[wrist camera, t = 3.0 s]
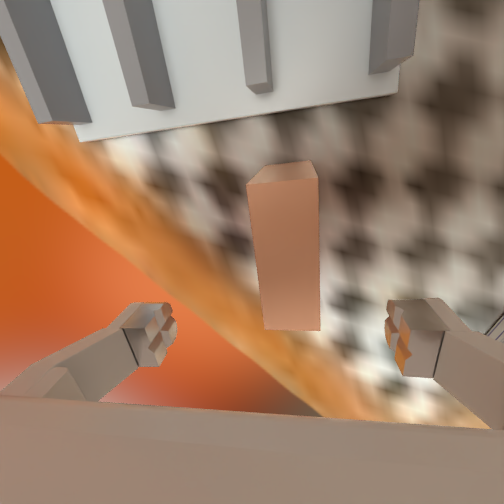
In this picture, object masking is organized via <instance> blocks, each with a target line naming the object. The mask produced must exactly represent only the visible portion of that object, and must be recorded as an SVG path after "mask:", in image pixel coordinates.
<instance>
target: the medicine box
mask: <svg viewBox="0 0 504 504" xmlns="http://www.w3.org/2000/svg"><path fill="white" fill-rule="evenodd" d="M486 336H488V337H490V338H492V339H495V340H497V341H499V342H501V343H503V344H504V315H503V316H502V317H501V319H500V320H499V321H498V322H497V323H496V324H495V325H494V327H493V328H492V329H491V330H490V331H489V332H488V333H487V334H486Z"/></svg>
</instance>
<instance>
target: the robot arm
mask: <svg viewBox="0 0 504 504" xmlns="http://www.w3.org/2000/svg"><path fill="white" fill-rule="evenodd" d="M386 310H387V312H388V314H389V317H388V318H387V319H386V320H385V337H386V340H387V343H388V345H389V348H390V349H392V350H393V351H394V352H396V353H395V361H396V363H397V365H398V367H399V369H400V371H401V373H402V375H403V376H408V377H424V378H434V379H433V380H435V381H436V382H437V383H438V384H439V385H441V386H442V387H443V388H444V389H445V390H447V391H448V392H449V393H450V394H451V395H452V396H454V397H455V398H456V399H457V400H458V401H460V402H461V403H462V404H463V405H464V406H466V407H467V408H468V409H469V410H470V411H471V412H473V413H474V414H475V415H476V416H477V417H479V418H480V419H481V420H482V421H483V422H485V423H486V424H487V425H488V426H489V427H490V428H492V429H479V428H464V427H450V426H436V425H422V424H408V423H393V422H379V421H365V420H351V419H337V418H323V417H308V416H294V415H281V414H265V413H252V412H238V411H224V410H209V409H195V408H180V407H167V406H151V405H139V404H138V405H137V404H124V403H110V402H98V401H99V400H100V399H101V398H102V397H104V396H105V395H106V394H107V393H108V392H110V391H111V390H112V389H113V388H114V387H116V386H117V385H118V384H119V383H120V382H122V381H123V380H124V379H125V378H126V377H128V376H129V375H130V374H131V373H133V372H134V371H135V370H136V369H137V368H138V367H159V366H160V364H161V363H162V361H163V359H164V357H165V356H166V354H167V349H166V348H167V347H169V346H170V345H171V344H173V342H174V340H175V338H176V334H177V324H176V321H175V319H174V318H173V317H172V316H171V313H172V308H171V305H170V304H169V303H166V302H145V303H144V302H134V303H131V304H130V305H129V306H128V307H127V308H126V309H125V310H124V311H123V312H122V313H121V314H120V315H119V316H118V317H117V318H116V319H115V320H114V321H113V322H112V323H111V324H110V325H109V326H108V327H107V328H106V329H101V330H99V331H97V332H95V333H93V334H91V335H89V336H87V337H85V338H83V339H81V340H79V341H77V342H75V343H73V344H71V345H69V346H67V347H65V348H63V349H61V350H59V351H57V352H56V353H53V354H51V355H49V356H48V357H45V358H43V359H42V360H40V361H38V362H36V363H34V364H32V365H30V366H29V367H28V368H27V369H26V370H25V371H23V372H22V373H21V374H20V375H19V376H18V377H16V378H15V379H14V380H13V381H12V382H11V383H10V384H8V385H7V386H6V387H5V388H4V389H3V390H2V391H0V504H504V344H503V343H501V342H499V341H497V340H495V339H492V338H490V337H488V336H486V335H484V334H482V333H480V332H475V331H471V330H470V329H469V328H468V327H467V326H466V325H465V324H464V323H463V321H462V320H461V319H460V318H459V317H458V316H457V315H456V314H455V313H454V312H453V311H452V310H451V309H450V308H449V306H448V305H447V304H446V303H445V302H444V301H443V300H442V299H440V298H425V299H402V300H388V303H387V309H386Z"/></svg>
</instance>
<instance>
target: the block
mask: <svg viewBox="0 0 504 504" xmlns="http://www.w3.org/2000/svg"><path fill="white" fill-rule="evenodd" d="M246 190H247V198H248V205H249V213H250V220H251V228H252V235H253V243H254V251H255V258H256V266H257V273H258V281H259V289H260V296H261V304H262V311H263V319H264V327H265V330H303V331H320V268H319V190H318V176H317V173H316V171H315V169H314V167H313V164H312V162H311V160H309V161H300V162H291V163H282V164H274V165H265V166H264V167H263V168H262V169H261V170H260V171H259V172H258V173H257V174H256V175H255V176H254V177H253V178H252V179H251V180H250V181H249V182H248V183H247V184H246Z"/></svg>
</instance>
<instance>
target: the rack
mask: <svg viewBox="0 0 504 504" xmlns="http://www.w3.org/2000/svg"><path fill="white" fill-rule="evenodd" d="M419 1H420V0H0V36H1V38H2V40H3V43H4V45H5V47H6V50H7V52H8V54H9V57H10V59H11V61H12V64H13V66H14V68H15V71H16V73H17V75H18V78H19V80H20V82H21V85H22V87H23V89H24V92H25V94H26V96H27V98H28V101H29V103H30V105H31V108H32V110H33V112H34V115H35V117H36V119H37V122H38V124H66V125H74V128H75V131H76V133H77V136H78V139H79V141H80V142H91V141H98V140H104V139H111V138H117V137H124V136H130V135H136V134H143V133H149V132H156V131H162V130H169V129H175V128H181V127H188V126H194V125H201V124H207V123H214V122H220V121H226V120H233V119H239V118H246V117H252V116H259V115H265V114H271V113H278V112H284V111H291V110H297V109H304V108H310V107H316V106H323V105H329V104H336V103H342V102H349V101H355V100H361V99H368V98H374V97H381V96H387V95H392V94H395V93H397V92H398V83H399V74H400V64H401V63H402V62H404V61H405V60H407V59H408V58H410V57H411V56H413V52H414V44H415V35H416V27H417V18H418V10H419Z"/></svg>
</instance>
